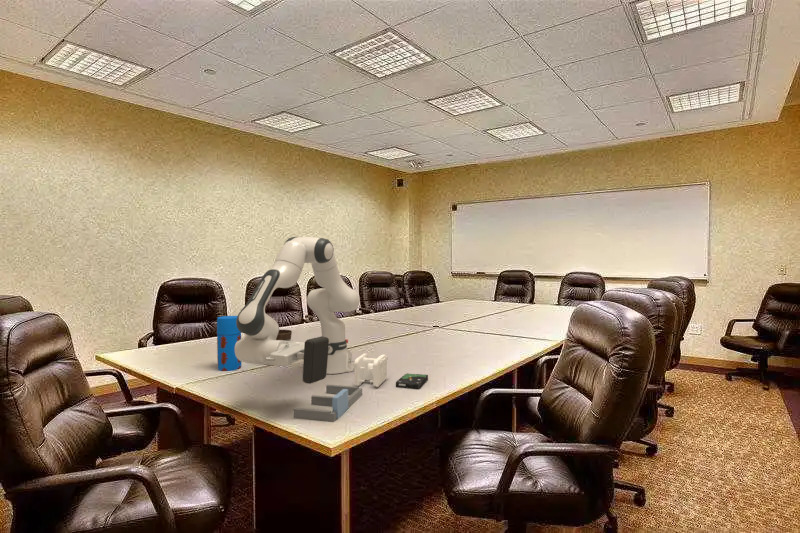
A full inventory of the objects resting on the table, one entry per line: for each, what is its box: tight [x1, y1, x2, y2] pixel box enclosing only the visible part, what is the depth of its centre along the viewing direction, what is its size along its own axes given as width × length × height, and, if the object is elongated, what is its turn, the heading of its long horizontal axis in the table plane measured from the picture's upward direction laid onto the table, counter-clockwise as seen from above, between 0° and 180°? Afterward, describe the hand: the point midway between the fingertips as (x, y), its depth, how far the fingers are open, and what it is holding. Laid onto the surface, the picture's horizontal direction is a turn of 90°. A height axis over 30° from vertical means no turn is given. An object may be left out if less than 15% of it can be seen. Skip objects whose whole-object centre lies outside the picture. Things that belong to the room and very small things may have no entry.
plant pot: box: [276, 329, 293, 340], centre depth 220 cm, size 15×15×16 cm
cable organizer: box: [353, 352, 389, 388], centre depth 184 cm, size 15×11×12 cm
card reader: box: [302, 335, 329, 385], centre depth 150 cm, size 9×4×15 cm, turn 149°
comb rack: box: [293, 384, 363, 423], centre depth 157 cm, size 28×15×7 cm, turn 166°
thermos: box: [216, 315, 242, 372], centre depth 210 cm, size 11×11×25 cm
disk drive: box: [395, 372, 429, 390], centre depth 184 cm, size 10×3×15 cm
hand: (313, 354), depth 151 cm, fingers closed on card reader
